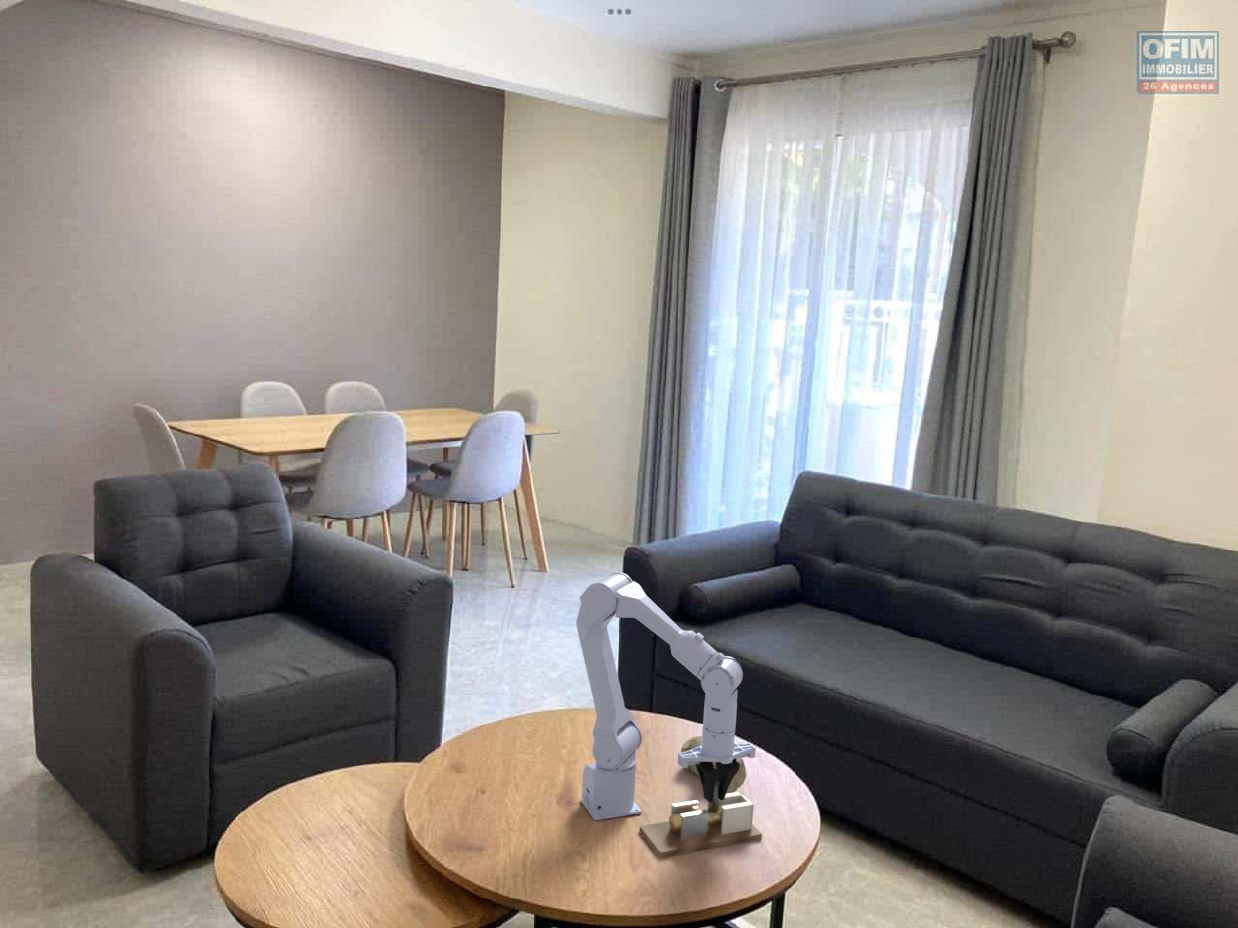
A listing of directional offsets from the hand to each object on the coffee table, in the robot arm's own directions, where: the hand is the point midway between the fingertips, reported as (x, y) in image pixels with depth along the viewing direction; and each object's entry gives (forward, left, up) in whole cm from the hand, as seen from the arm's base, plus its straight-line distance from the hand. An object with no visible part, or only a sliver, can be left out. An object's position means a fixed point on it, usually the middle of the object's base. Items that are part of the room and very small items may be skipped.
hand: (714, 798), depth 178 cm
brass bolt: (-3, 0, -5) cm, 5 cm away
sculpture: (+9, +18, -7) cm, 21 cm away
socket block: (+4, 0, -7) cm, 8 cm away
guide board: (-2, 0, -7) cm, 7 cm away
